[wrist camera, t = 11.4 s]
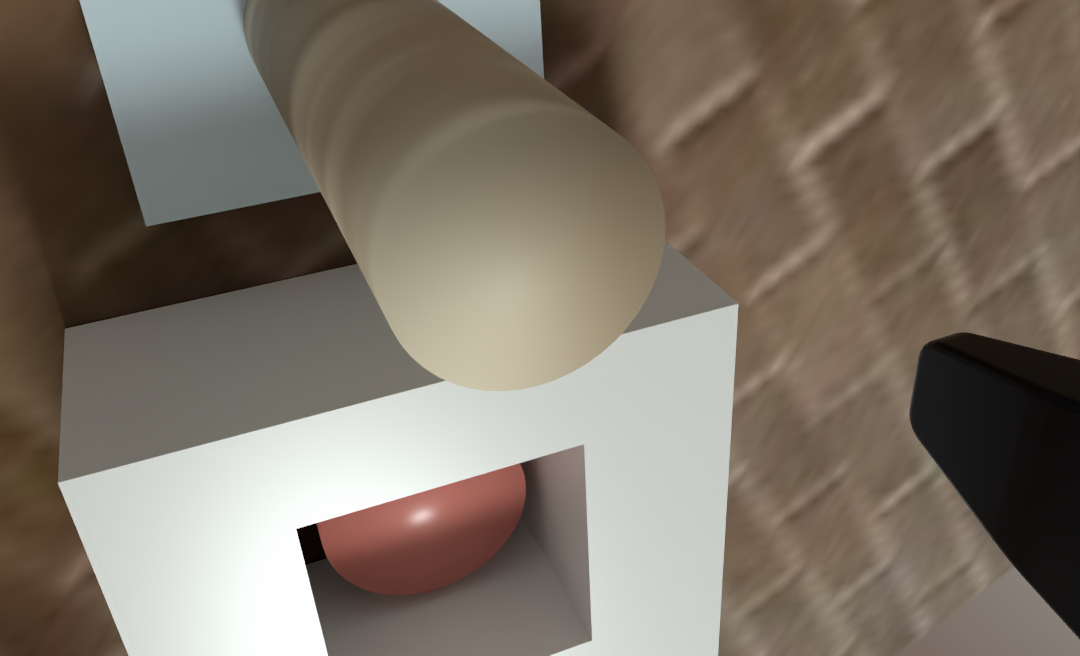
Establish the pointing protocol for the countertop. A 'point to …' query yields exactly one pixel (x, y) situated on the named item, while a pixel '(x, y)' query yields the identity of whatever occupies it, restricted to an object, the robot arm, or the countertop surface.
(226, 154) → the pad
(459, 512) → the button
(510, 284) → the dowel
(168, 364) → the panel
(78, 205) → the countertop surface
